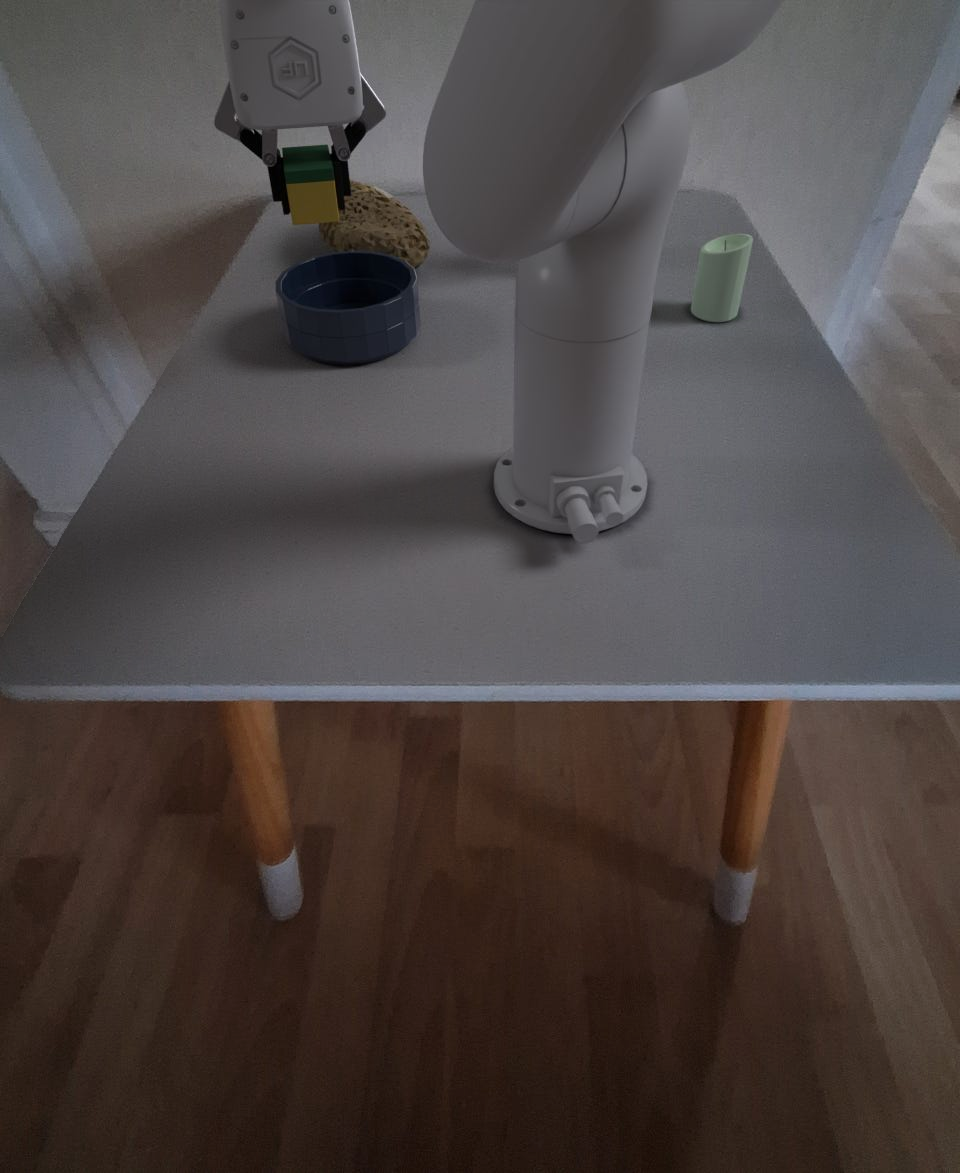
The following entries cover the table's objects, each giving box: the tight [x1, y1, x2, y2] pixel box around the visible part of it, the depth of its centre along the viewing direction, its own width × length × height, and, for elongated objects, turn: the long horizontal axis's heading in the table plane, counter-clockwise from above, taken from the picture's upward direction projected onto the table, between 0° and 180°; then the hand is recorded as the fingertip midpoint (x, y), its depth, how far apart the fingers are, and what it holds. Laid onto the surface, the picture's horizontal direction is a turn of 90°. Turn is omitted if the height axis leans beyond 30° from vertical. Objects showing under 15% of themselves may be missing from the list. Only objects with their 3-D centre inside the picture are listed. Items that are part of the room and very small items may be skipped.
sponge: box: [318, 179, 431, 270], centre depth 102 cm, size 13×8×20 cm
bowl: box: [275, 250, 421, 366], centre depth 87 cm, size 14×14×6 cm
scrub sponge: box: [281, 144, 339, 226], centre depth 73 cm, size 6×4×4 cm, turn 11°
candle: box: [690, 233, 754, 323], centre depth 89 cm, size 5×5×8 cm
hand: (313, 204), depth 74 cm, fingers closed on scrub sponge, 4 cm apart
